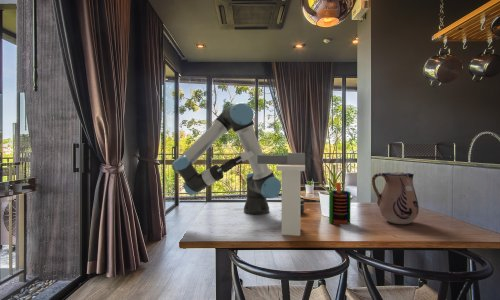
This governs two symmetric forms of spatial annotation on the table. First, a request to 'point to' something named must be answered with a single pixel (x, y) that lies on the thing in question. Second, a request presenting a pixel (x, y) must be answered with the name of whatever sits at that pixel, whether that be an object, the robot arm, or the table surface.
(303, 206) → the jar
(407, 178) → the ceramic pitcher
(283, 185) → the stand
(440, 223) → the table surface
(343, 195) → the motor
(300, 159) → the bar
